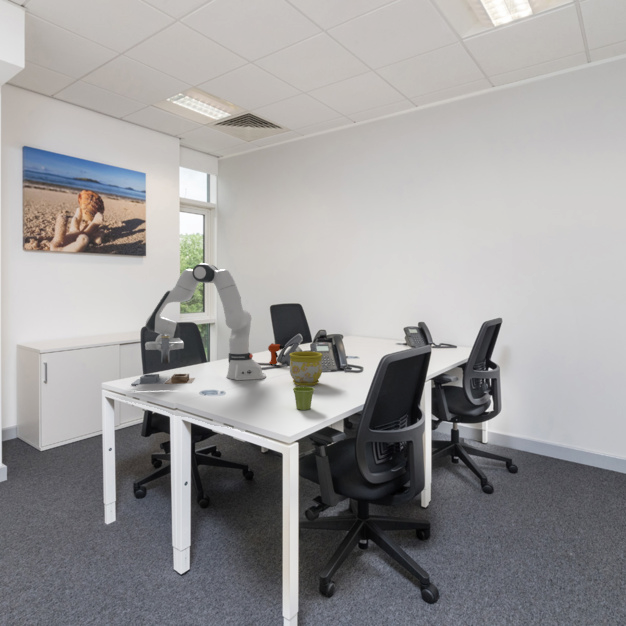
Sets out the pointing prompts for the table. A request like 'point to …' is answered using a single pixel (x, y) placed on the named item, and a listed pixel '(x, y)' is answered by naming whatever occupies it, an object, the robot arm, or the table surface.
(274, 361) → the toy drill
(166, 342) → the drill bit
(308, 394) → the plant pot
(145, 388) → the table surface
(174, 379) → the socket block
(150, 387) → the table surface
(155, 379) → the rack block
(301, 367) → the flowerpot
